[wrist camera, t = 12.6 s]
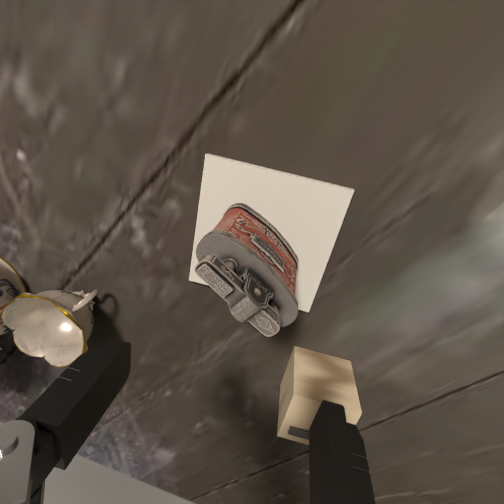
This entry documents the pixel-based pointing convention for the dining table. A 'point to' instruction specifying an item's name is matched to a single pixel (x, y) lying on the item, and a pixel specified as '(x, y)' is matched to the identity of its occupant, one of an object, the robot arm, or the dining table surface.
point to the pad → (276, 213)
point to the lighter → (250, 269)
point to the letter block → (314, 392)
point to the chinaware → (45, 319)
